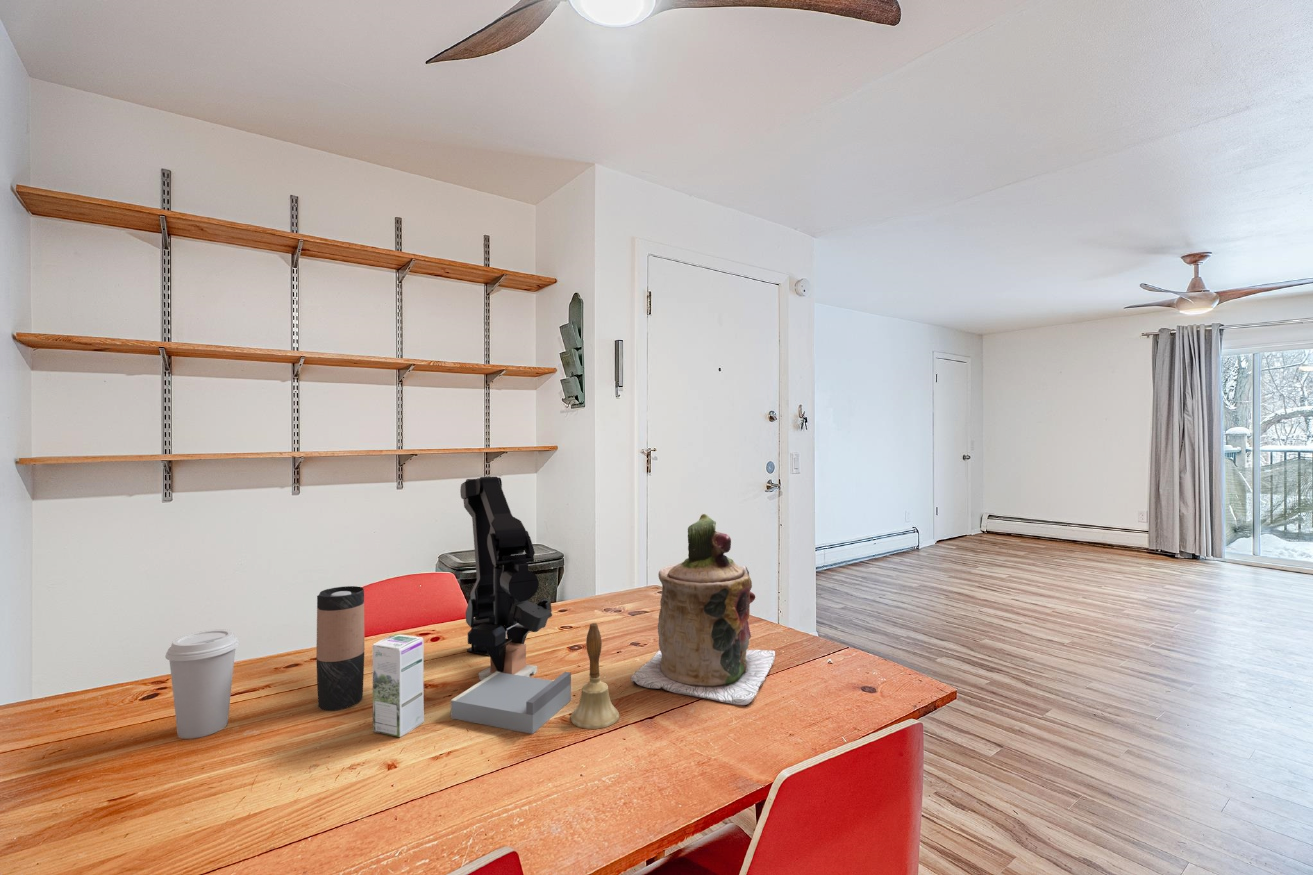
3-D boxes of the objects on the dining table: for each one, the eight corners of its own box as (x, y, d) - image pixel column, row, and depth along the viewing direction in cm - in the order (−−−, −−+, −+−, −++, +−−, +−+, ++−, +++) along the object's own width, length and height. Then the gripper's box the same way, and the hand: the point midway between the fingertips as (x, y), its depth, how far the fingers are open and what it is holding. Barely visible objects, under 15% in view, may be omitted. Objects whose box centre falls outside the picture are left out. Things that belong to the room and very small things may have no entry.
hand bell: (592, 734, 93) (592, 635, 93) (560, 718, 99) (560, 624, 99) (629, 716, 99) (629, 623, 99) (597, 701, 105) (597, 613, 105)
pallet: (478, 679, 115) (478, 650, 115) (499, 666, 121) (499, 638, 121) (517, 686, 112) (517, 655, 112) (537, 672, 118) (537, 643, 118)
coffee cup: (156, 749, 89) (157, 651, 89) (174, 722, 97) (174, 633, 97) (233, 734, 93) (233, 641, 93) (243, 710, 102) (243, 624, 102)
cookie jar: (625, 687, 111) (625, 520, 112) (670, 645, 134) (670, 507, 134) (753, 709, 102) (752, 527, 102) (778, 660, 125) (777, 511, 125)
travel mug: (373, 697, 107) (374, 588, 107) (335, 715, 100) (335, 598, 100) (345, 689, 110) (345, 584, 110) (306, 706, 103) (306, 593, 103)
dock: (450, 718, 99) (450, 688, 99) (496, 687, 111) (496, 661, 111) (532, 733, 93) (532, 702, 93) (570, 699, 106) (570, 672, 106)
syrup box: (425, 722, 97) (425, 635, 97) (399, 739, 92) (399, 647, 92) (398, 716, 99) (398, 631, 99) (370, 733, 94) (371, 643, 94)
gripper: (516, 605, 105) (516, 691, 105) (566, 581, 123) (566, 655, 123) (465, 599, 109) (465, 682, 109) (520, 577, 126) (520, 649, 126)
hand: (508, 666), depth 116 cm, fingers closed on pallet, 5 cm apart
